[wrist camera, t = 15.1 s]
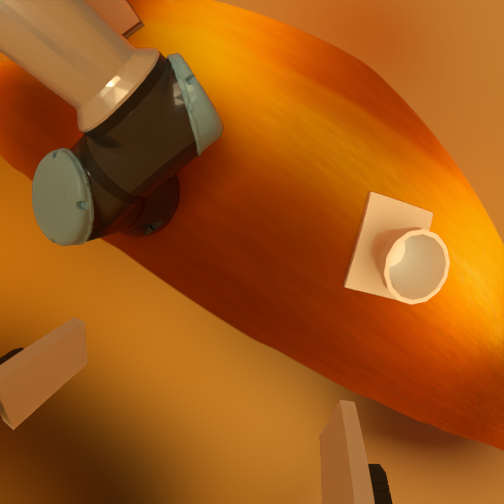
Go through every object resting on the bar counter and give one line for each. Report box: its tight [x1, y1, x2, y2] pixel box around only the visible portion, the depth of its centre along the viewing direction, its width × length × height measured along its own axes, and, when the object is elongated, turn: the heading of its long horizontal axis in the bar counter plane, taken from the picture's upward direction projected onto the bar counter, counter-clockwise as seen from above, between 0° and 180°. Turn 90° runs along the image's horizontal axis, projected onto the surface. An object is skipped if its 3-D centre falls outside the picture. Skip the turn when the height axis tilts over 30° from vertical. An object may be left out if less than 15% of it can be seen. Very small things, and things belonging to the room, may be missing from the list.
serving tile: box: [343, 192, 433, 300], centre depth 45 cm, size 12×16×2 cm
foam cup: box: [370, 227, 450, 304], centre depth 38 cm, size 10×9×13 cm
